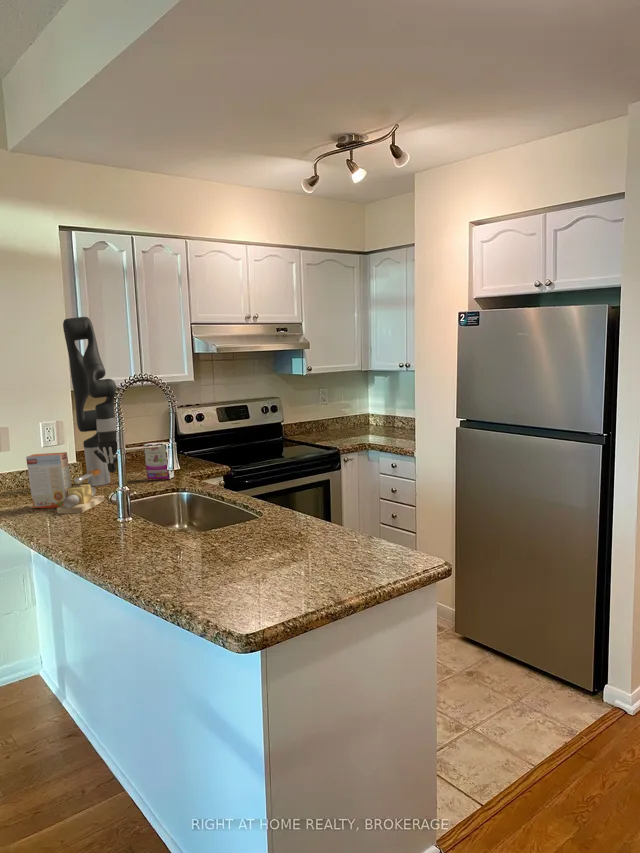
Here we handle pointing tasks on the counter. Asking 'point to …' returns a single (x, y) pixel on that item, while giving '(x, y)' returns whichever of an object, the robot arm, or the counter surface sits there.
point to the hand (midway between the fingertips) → (112, 472)
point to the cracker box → (48, 479)
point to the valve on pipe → (80, 499)
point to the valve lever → (87, 476)
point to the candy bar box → (157, 461)
